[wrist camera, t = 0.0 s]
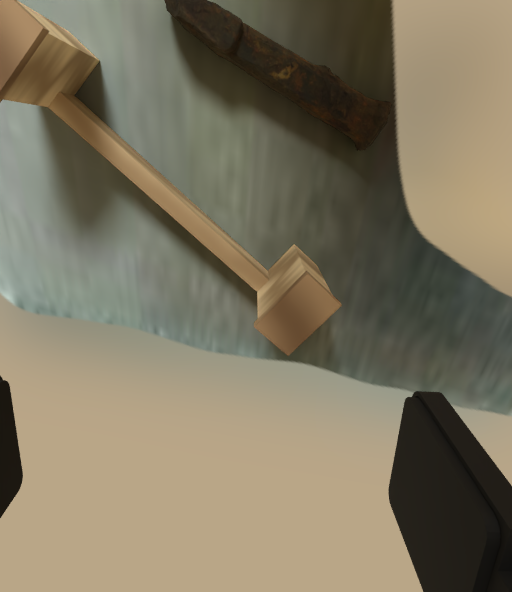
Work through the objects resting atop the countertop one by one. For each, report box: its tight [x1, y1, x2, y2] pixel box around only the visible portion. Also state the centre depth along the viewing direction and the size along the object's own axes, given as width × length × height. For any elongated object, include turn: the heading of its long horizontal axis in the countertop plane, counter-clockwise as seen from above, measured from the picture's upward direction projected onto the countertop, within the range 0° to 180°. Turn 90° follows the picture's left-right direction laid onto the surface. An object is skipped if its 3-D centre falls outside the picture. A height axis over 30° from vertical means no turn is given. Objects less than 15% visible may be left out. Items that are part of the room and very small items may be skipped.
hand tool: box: [165, 0, 392, 150], centre depth 34 cm, size 19×4×5 cm, turn 59°
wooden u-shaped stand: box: [0, 0, 342, 356], centre depth 34 cm, size 5×28×11 cm, turn 47°
